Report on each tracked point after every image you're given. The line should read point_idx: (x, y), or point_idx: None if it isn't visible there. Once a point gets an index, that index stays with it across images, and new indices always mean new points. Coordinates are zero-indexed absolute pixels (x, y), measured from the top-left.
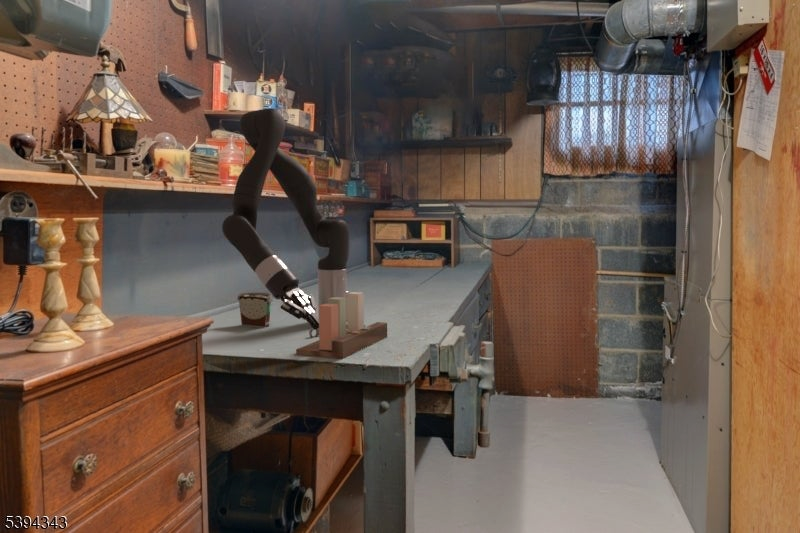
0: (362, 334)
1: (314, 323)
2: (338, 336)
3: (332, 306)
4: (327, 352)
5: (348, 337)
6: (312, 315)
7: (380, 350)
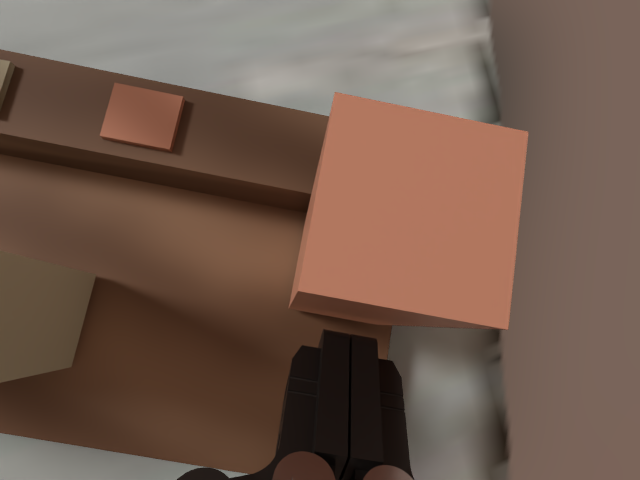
0: (145, 82)
1: (398, 384)
2: (82, 284)
3: (489, 128)
4: None
5: (298, 138)
6: (379, 437)
7: (180, 29)
